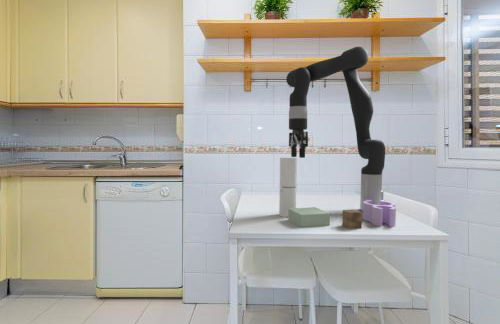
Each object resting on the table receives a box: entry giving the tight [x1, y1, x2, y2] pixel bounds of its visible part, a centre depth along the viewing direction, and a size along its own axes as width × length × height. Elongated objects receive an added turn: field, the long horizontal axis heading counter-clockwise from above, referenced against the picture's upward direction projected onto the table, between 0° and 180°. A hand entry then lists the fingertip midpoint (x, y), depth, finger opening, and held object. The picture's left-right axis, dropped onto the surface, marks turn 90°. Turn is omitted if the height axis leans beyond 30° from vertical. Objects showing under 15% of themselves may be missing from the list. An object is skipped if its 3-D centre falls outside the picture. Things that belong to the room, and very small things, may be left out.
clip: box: [362, 199, 397, 228], centre depth 130 cm, size 20×12×7 cm, turn 170°
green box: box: [287, 206, 331, 228], centre depth 126 cm, size 12×12×5 cm
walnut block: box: [341, 209, 363, 230], centre depth 120 cm, size 5×5×6 cm
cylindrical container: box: [278, 157, 298, 218], centre depth 138 cm, size 7×7×25 cm
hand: (297, 157), depth 133 cm, fingers open, 8 cm apart
